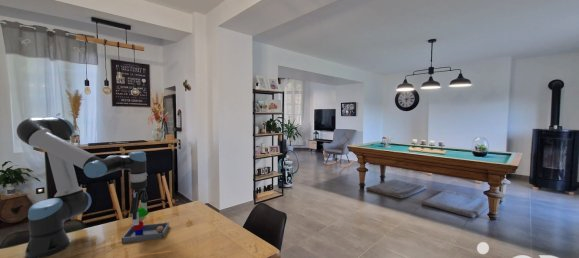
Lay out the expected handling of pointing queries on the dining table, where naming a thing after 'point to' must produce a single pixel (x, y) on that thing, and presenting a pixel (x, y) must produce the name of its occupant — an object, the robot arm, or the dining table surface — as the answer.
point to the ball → (160, 229)
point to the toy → (140, 222)
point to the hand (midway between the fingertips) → (140, 219)
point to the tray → (146, 233)
